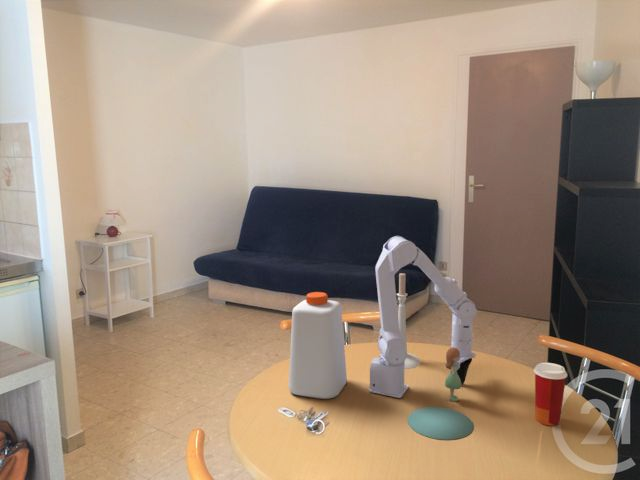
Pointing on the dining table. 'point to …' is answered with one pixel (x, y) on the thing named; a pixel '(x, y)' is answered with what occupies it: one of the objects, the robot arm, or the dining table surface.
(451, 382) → the toy
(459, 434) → the mat
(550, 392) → the paper cup
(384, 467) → the dining table surface
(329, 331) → the plastic bottle
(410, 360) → the candlestick
